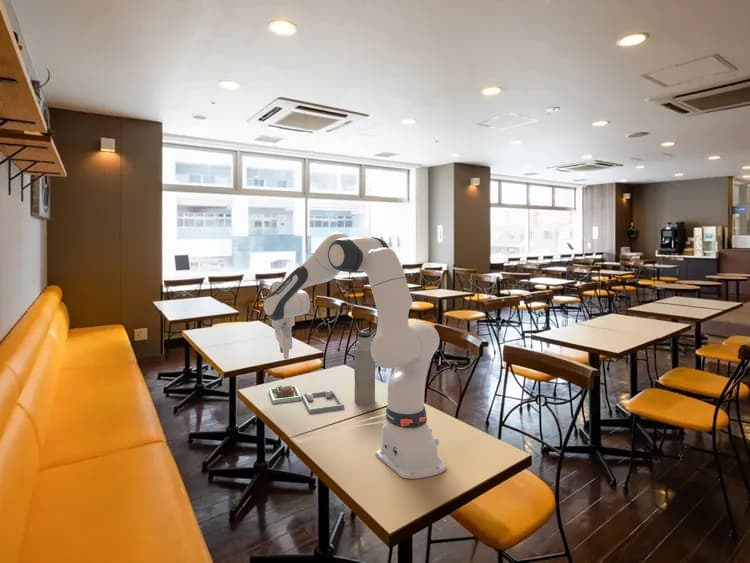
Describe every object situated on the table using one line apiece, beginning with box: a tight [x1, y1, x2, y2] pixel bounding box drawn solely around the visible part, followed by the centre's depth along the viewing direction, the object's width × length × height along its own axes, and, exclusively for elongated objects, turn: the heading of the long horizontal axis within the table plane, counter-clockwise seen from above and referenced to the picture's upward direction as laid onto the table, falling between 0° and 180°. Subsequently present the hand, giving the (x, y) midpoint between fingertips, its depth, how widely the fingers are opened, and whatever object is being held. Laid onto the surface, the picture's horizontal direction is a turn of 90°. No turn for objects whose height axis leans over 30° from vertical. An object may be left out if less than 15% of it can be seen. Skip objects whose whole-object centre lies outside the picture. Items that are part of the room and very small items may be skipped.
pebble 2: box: [324, 390, 333, 399], centre depth 176 cm, size 3×3×3 cm
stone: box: [278, 382, 291, 391], centre depth 177 cm, size 3×3×4 cm
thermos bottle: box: [353, 332, 376, 406], centre depth 171 cm, size 8×8×28 cm
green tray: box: [268, 385, 302, 404], centre depth 178 cm, size 13×11×2 cm
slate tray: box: [300, 389, 345, 414], centre depth 171 cm, size 16×13×2 cm
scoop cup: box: [275, 384, 295, 399], centre depth 177 cm, size 6×6×4 cm
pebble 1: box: [306, 392, 314, 402], centre depth 173 cm, size 3×3×3 cm
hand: (284, 355), depth 176 cm, fingers open, 8 cm apart
